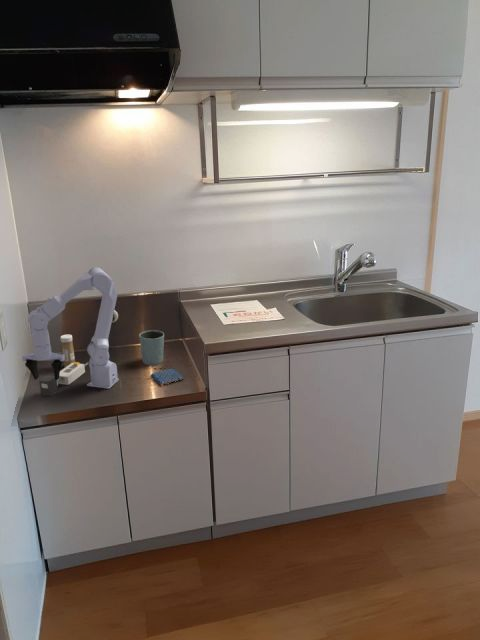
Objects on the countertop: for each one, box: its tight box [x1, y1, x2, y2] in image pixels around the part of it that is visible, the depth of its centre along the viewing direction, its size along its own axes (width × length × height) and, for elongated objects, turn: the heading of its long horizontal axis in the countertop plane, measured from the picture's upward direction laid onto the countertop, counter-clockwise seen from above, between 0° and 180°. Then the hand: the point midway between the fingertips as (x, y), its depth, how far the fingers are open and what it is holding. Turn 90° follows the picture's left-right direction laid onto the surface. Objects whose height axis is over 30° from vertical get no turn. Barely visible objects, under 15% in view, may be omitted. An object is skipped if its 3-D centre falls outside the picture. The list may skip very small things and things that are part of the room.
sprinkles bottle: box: [60, 334, 76, 368], centre depth 209 cm, size 5×5×13 cm
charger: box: [38, 375, 59, 397], centre depth 189 cm, size 4×6×6 cm, turn 165°
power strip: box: [57, 361, 89, 386], centre depth 204 cm, size 6×19×4 cm, turn 165°
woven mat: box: [150, 368, 186, 387], centre depth 200 cm, size 10×11×2 cm
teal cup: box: [138, 329, 165, 366], centre depth 214 cm, size 10×10×12 cm
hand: (47, 378), depth 186 cm, fingers open, 7 cm apart
